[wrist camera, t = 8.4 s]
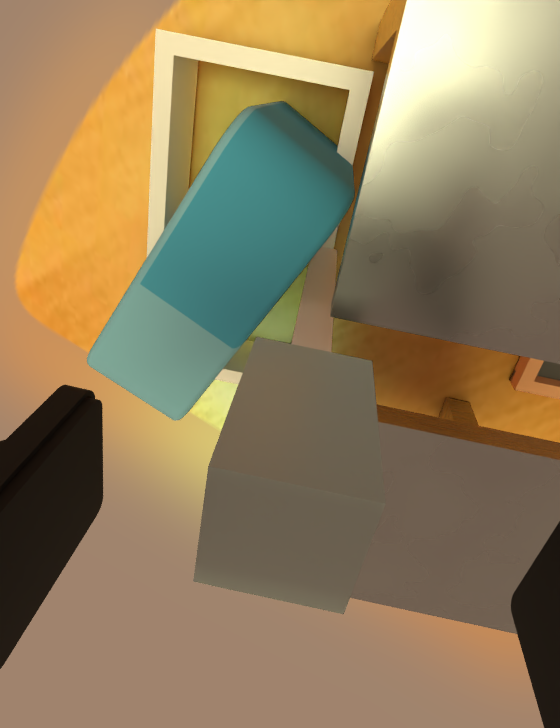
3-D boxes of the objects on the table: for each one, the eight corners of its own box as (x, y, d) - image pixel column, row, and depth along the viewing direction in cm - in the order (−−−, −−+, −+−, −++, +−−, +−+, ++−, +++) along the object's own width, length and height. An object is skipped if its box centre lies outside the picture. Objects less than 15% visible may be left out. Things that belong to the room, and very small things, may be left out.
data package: (228, 320, 31) (168, 437, 21) (167, 277, 30) (72, 376, 20) (354, 156, 26) (359, 201, 15) (285, 97, 25) (240, 103, 14)
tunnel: (614, 68, 23) (967, 40, 10) (461, 420, 33) (536, 638, 20) (379, 22, 23) (422, -64, 10) (298, 386, 33) (266, 579, 20)
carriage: (392, 78, 24) (564, 37, 5) (321, 366, 32) (285, 767, 13) (183, 37, 24) (-401, -150, 5) (165, 334, 32) (-95, 682, 13)
